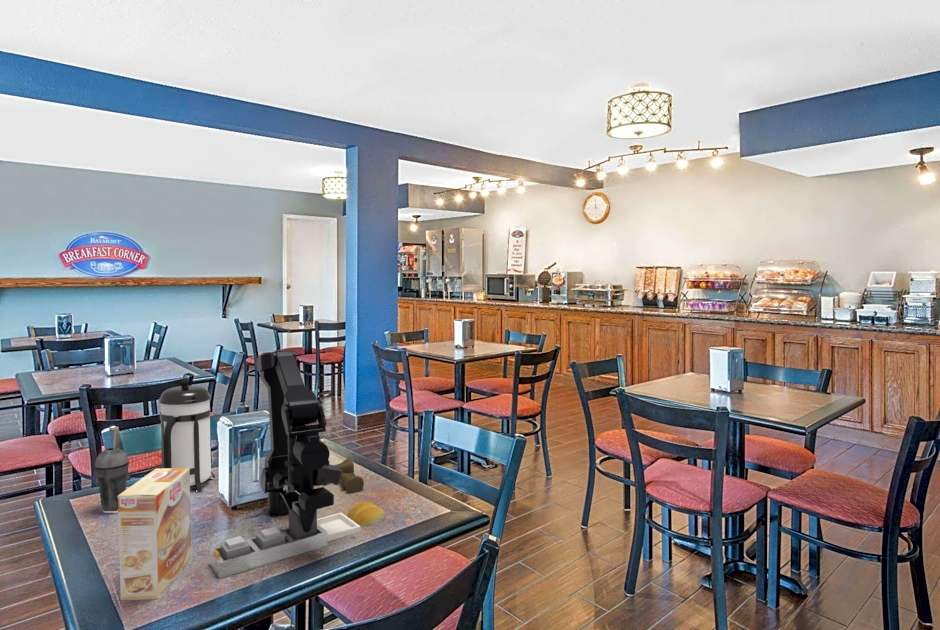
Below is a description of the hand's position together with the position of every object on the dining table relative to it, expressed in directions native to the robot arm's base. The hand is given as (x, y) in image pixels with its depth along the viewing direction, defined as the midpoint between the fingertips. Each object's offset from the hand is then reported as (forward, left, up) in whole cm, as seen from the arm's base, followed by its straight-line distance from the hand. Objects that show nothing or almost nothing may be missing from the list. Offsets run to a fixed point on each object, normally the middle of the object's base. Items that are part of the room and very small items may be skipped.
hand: (302, 527), depth 123 cm
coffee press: (-53, -11, -4) cm, 54 cm away
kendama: (-30, +24, -5) cm, 39 cm away
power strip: (0, -7, -4) cm, 8 cm away
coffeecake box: (-4, -27, -4) cm, 28 cm away
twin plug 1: (0, -14, -4) cm, 15 cm away
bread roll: (-4, +17, -5) cm, 19 cm away
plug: (0, 0, -2) cm, 2 cm away
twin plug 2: (0, -7, -4) cm, 8 cm away
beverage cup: (-47, -29, -4) cm, 55 cm away
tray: (-3, +8, -4) cm, 10 cm away
